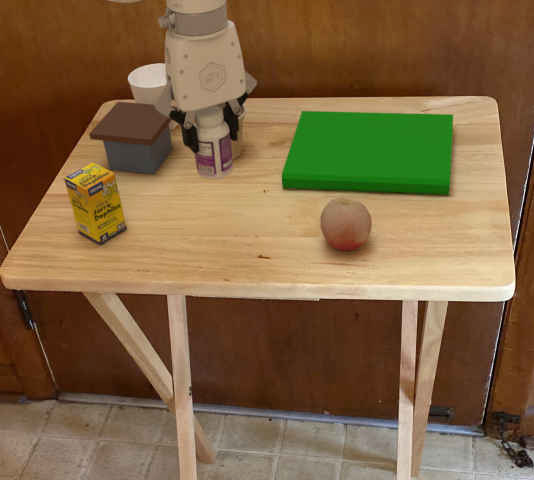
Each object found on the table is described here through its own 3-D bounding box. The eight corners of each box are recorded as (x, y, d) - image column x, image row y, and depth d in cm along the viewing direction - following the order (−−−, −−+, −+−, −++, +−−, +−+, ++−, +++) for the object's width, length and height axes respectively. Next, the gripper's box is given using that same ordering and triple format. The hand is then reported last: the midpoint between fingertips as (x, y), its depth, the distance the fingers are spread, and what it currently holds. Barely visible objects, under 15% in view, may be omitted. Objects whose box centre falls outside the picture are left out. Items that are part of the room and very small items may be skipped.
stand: (158, 180, 146) (150, 139, 140) (98, 173, 149) (88, 133, 144) (183, 146, 154) (176, 106, 149) (126, 140, 158) (117, 101, 152)
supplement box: (100, 246, 132) (85, 189, 125) (78, 233, 136) (62, 177, 128) (128, 229, 135) (115, 172, 128) (105, 216, 139) (91, 161, 131)
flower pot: (209, 138, 156) (203, 96, 150) (256, 142, 153) (252, 100, 147) (193, 164, 149) (186, 122, 143) (242, 168, 147) (237, 125, 141)
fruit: (373, 230, 130) (373, 187, 125) (369, 261, 124) (369, 218, 119) (323, 228, 132) (322, 186, 126) (317, 259, 126) (315, 216, 120)
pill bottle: (225, 158, 122) (219, 99, 116) (239, 175, 119) (233, 114, 112) (191, 167, 121) (184, 107, 114) (204, 184, 117) (197, 124, 111)
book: (302, 125, 157) (302, 110, 155) (451, 129, 152) (453, 114, 149) (282, 189, 141) (281, 175, 139) (448, 196, 135) (450, 181, 133)
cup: (192, 128, 159) (185, 81, 152) (142, 139, 157) (132, 91, 151) (181, 105, 166) (174, 59, 160) (133, 115, 165) (124, 69, 158)
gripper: (146, 43, 99) (166, 172, 111) (270, 11, 104) (277, 137, 117) (125, 23, 104) (146, 148, 116) (245, -7, 109) (253, 116, 122)
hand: (212, 141), depth 116 cm, fingers closed on pill bottle, 5 cm apart
